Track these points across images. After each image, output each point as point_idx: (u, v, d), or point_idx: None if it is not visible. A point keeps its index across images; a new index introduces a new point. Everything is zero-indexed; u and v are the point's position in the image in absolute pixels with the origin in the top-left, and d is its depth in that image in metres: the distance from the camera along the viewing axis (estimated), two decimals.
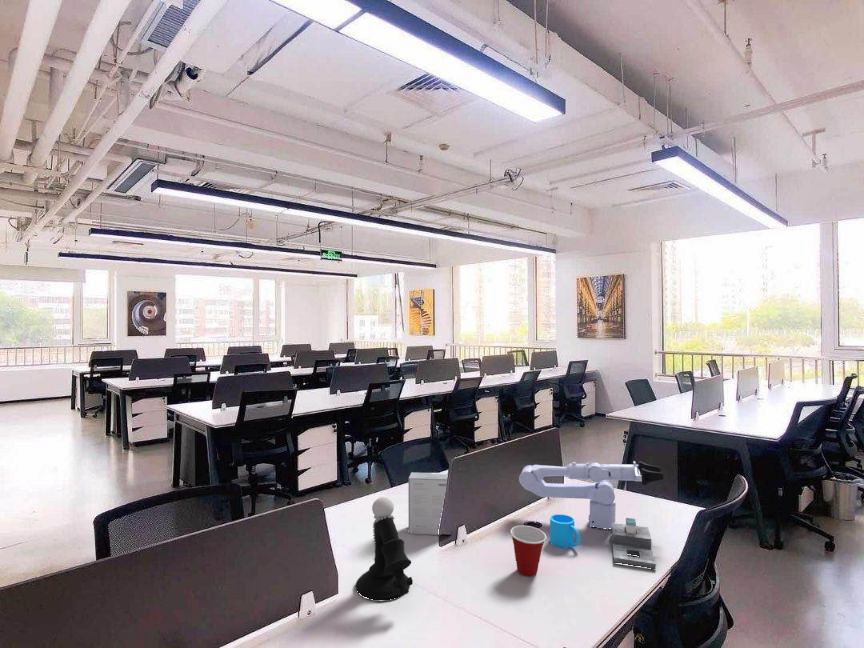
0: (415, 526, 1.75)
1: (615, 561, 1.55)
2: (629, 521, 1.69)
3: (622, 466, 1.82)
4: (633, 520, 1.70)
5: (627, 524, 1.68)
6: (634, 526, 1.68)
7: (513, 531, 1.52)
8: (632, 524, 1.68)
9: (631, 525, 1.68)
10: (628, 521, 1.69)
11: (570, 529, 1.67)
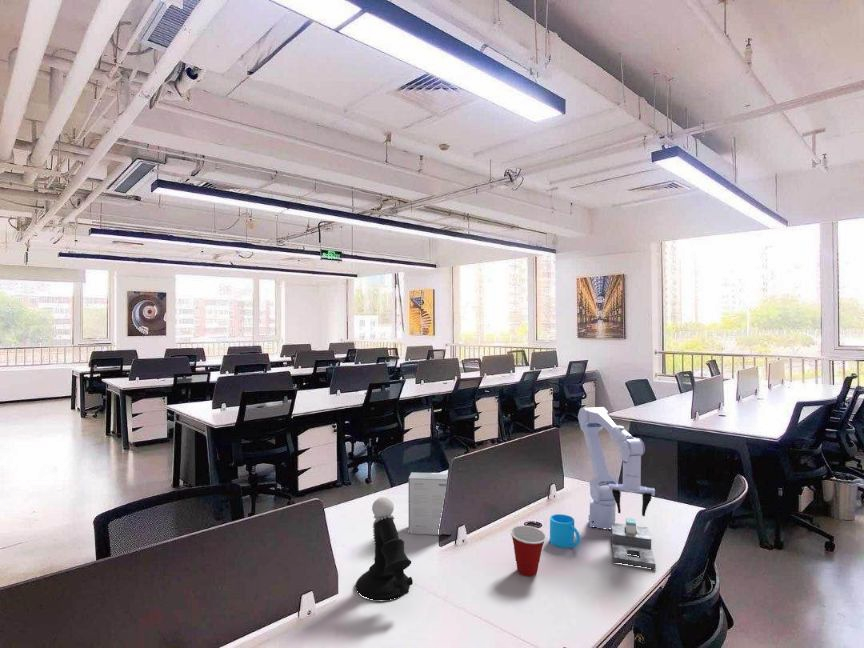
0: (415, 526, 1.75)
1: (615, 561, 1.55)
2: (629, 521, 1.69)
3: (628, 477, 1.68)
4: (633, 520, 1.70)
5: (627, 524, 1.68)
6: (634, 526, 1.68)
7: (513, 531, 1.52)
8: (632, 524, 1.68)
9: (631, 525, 1.68)
10: (628, 521, 1.69)
11: (570, 529, 1.67)
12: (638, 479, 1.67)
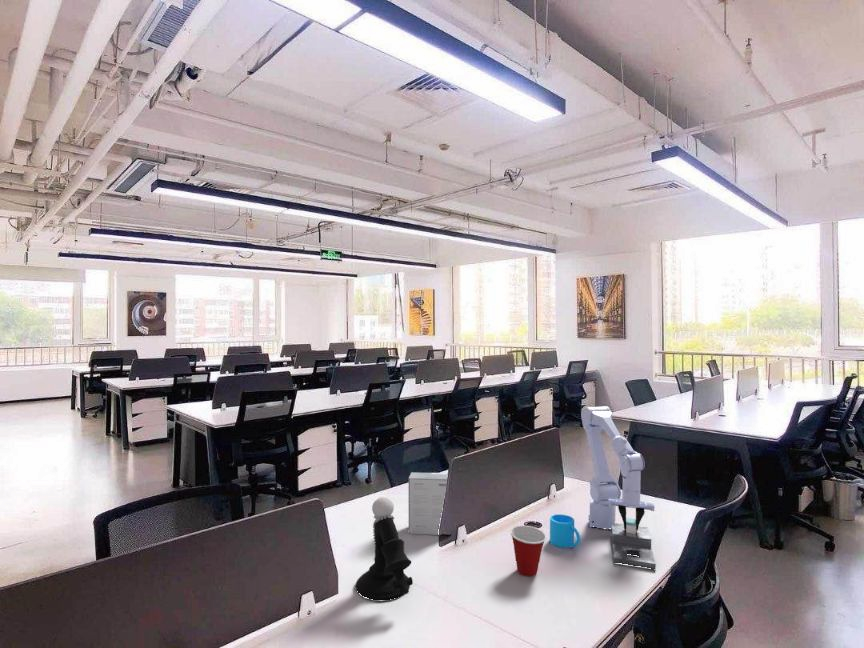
0: (415, 526, 1.75)
1: (615, 561, 1.55)
2: (629, 521, 1.69)
3: (627, 492, 1.68)
4: (633, 520, 1.70)
5: (627, 524, 1.68)
6: (634, 526, 1.68)
7: (513, 531, 1.52)
8: (632, 524, 1.68)
9: (631, 525, 1.68)
10: (628, 521, 1.69)
11: (570, 529, 1.67)
12: (638, 494, 1.67)
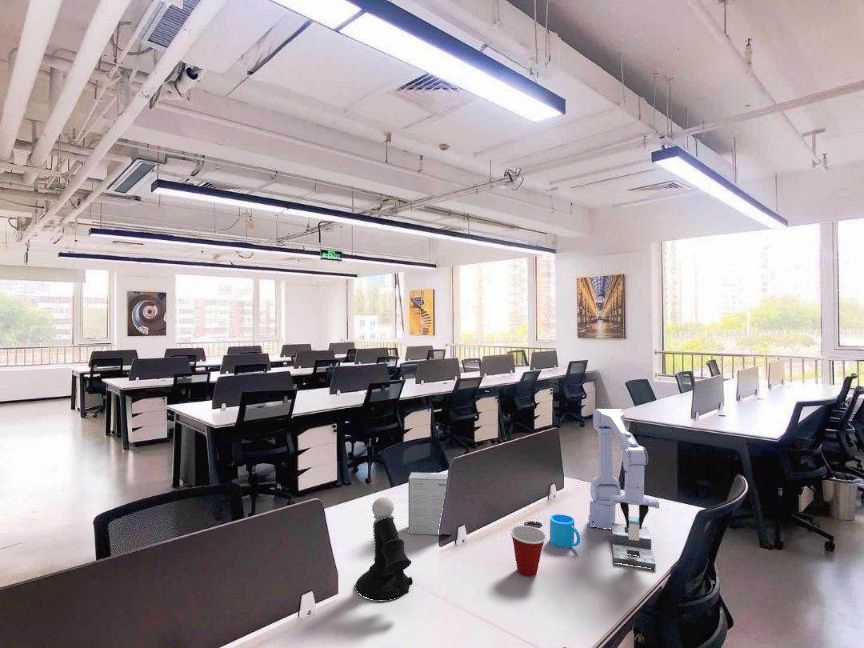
0: (415, 526, 1.75)
1: (615, 561, 1.55)
2: (632, 519, 1.58)
3: (630, 488, 1.56)
4: (636, 518, 1.59)
5: (630, 523, 1.57)
6: (637, 525, 1.56)
7: (513, 531, 1.52)
8: (635, 523, 1.56)
9: (634, 524, 1.57)
10: (631, 519, 1.58)
11: (570, 529, 1.67)
12: (641, 490, 1.56)
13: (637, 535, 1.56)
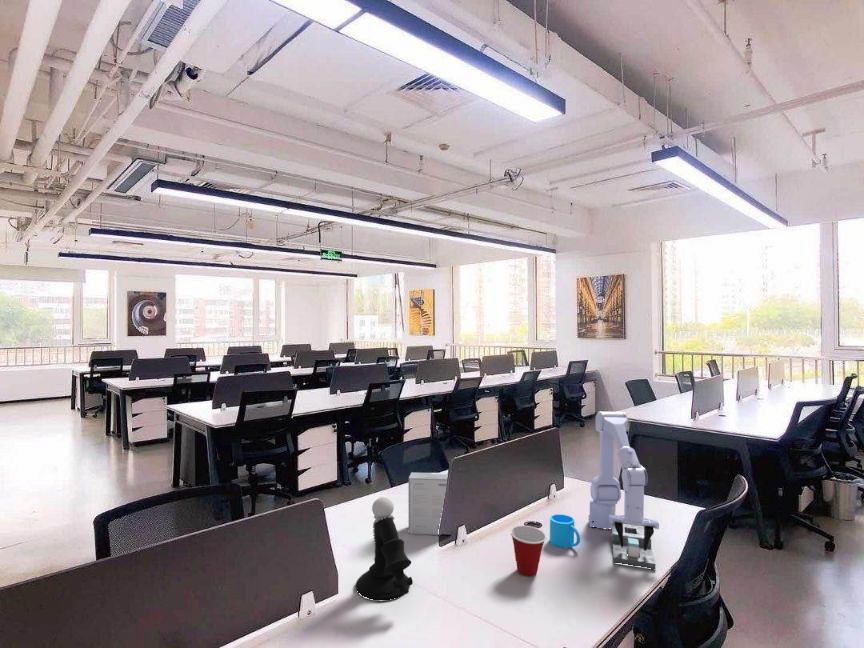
0: (415, 526, 1.75)
1: (615, 561, 1.55)
2: (631, 542, 1.58)
3: (630, 508, 1.56)
4: (636, 541, 1.59)
5: (629, 545, 1.57)
6: (637, 547, 1.56)
7: (513, 531, 1.52)
8: (635, 545, 1.56)
9: (634, 546, 1.57)
10: (630, 542, 1.58)
11: (570, 529, 1.67)
12: (641, 511, 1.56)
13: None
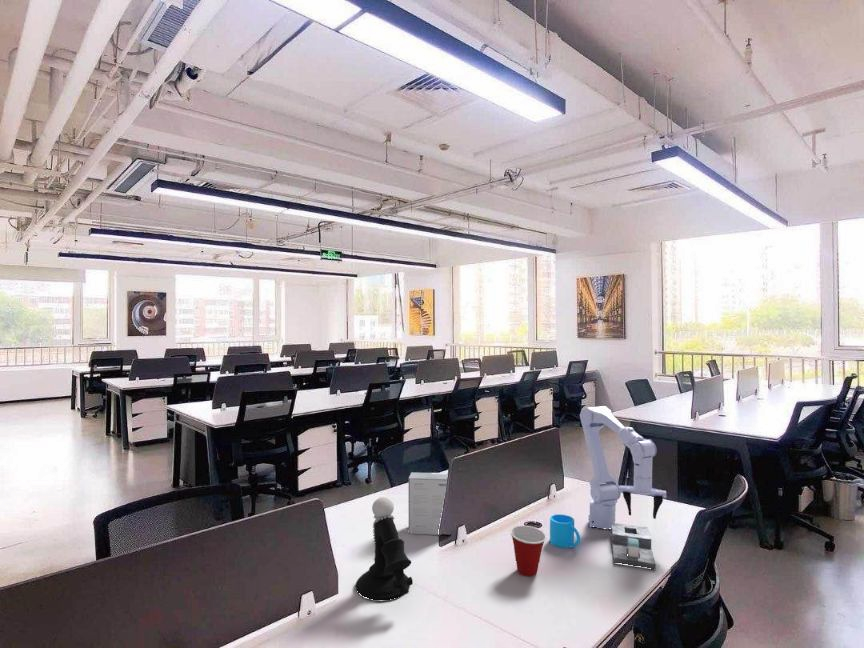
0: (415, 526, 1.75)
1: (615, 561, 1.55)
2: (631, 542, 1.58)
3: (639, 479, 1.66)
4: (636, 541, 1.59)
5: (629, 545, 1.57)
6: (637, 547, 1.56)
7: (513, 531, 1.52)
8: (635, 545, 1.56)
9: (634, 546, 1.57)
10: (630, 542, 1.58)
11: (570, 529, 1.67)
12: (649, 481, 1.65)
13: None
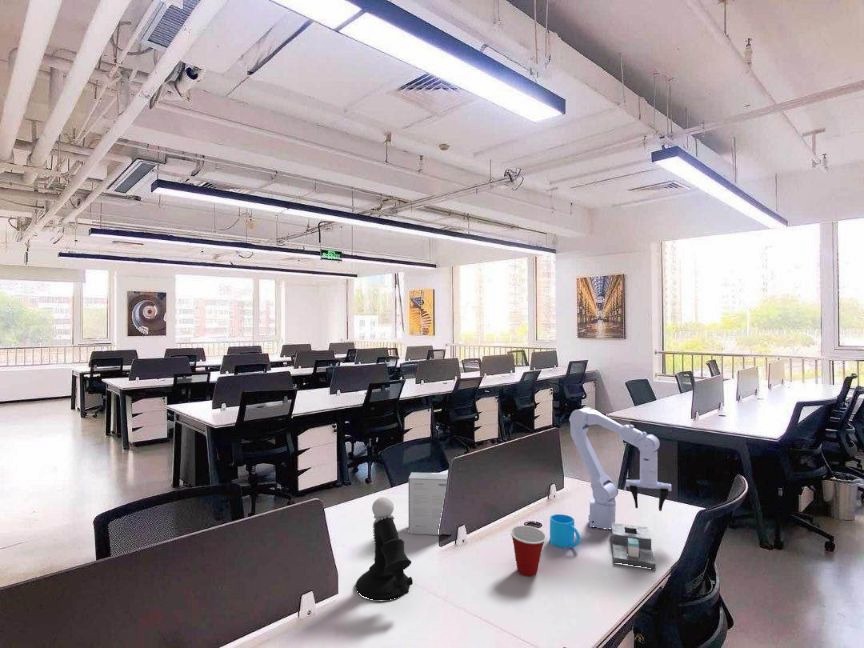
0: (415, 526, 1.75)
1: (615, 561, 1.55)
2: (631, 542, 1.58)
3: (645, 473, 1.72)
4: (636, 541, 1.59)
5: (629, 545, 1.57)
6: (637, 547, 1.56)
7: (513, 531, 1.52)
8: (635, 545, 1.56)
9: (634, 546, 1.57)
10: (630, 542, 1.58)
11: (570, 529, 1.67)
12: (655, 475, 1.72)
13: None
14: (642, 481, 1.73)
